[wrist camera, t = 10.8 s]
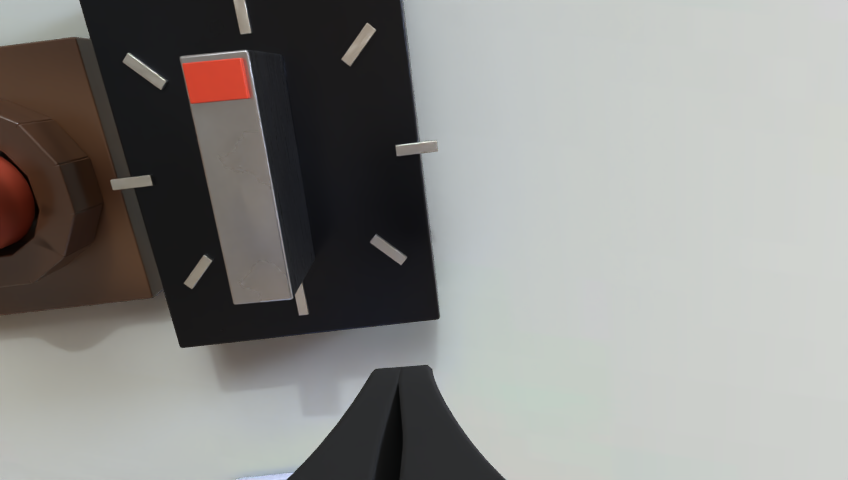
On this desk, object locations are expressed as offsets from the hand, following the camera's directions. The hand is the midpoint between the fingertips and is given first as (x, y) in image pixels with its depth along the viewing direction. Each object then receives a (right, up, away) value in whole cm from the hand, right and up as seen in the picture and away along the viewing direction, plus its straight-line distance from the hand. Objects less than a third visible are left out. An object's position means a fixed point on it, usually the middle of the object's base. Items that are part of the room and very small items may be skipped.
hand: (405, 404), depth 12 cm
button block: (-15, +6, +9) cm, 19 cm away
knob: (-5, +6, +6) cm, 10 cm away
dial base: (-5, +7, +9) cm, 12 cm away
